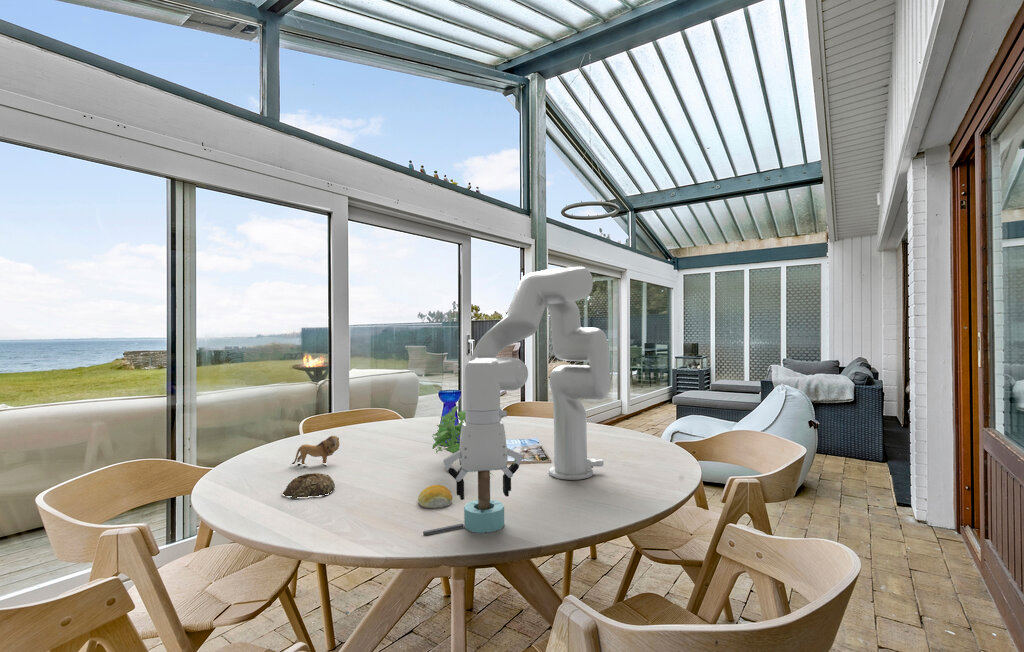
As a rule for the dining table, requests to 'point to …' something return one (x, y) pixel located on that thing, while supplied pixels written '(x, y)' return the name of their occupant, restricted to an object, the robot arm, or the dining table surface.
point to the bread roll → (435, 496)
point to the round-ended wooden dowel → (483, 490)
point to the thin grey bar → (443, 529)
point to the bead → (484, 517)
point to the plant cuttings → (449, 431)
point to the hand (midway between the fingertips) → (484, 496)
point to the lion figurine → (318, 449)
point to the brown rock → (310, 485)
